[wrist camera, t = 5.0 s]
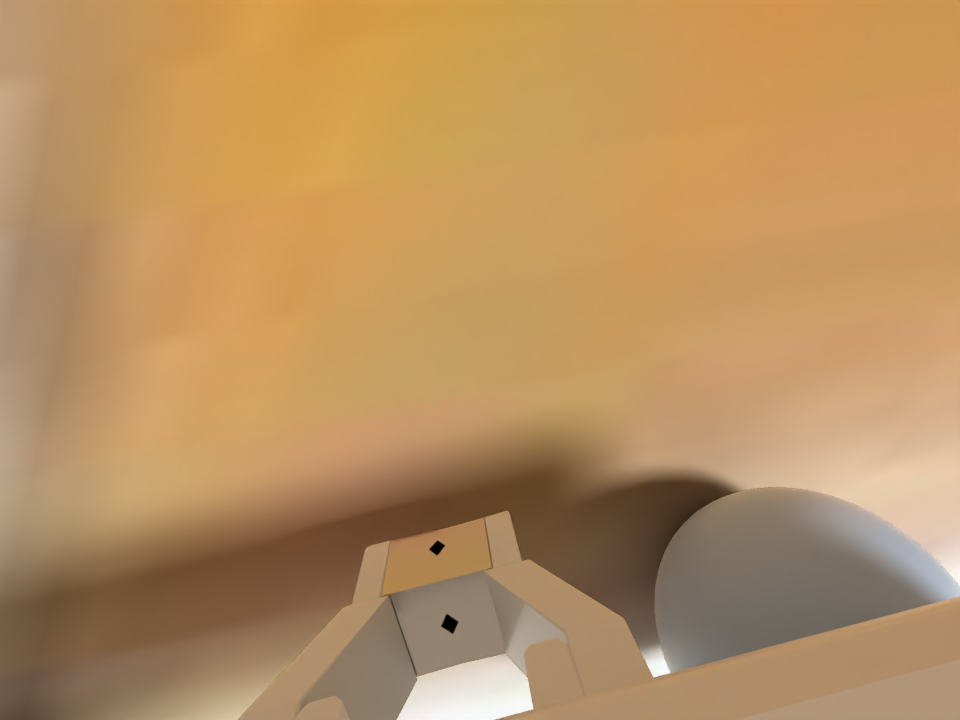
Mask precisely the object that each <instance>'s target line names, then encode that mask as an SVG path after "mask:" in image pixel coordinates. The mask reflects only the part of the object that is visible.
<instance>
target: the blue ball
mask: <svg viewBox="0 0 960 720" xmlns="http://www.w3.org/2000/svg"><path fill="white" fill-rule="evenodd" d="M958 596H960V586H959V585H958V583H957V582H956V581H955V580H954V579H953V577H952V576H951V575H950V574H949V573H948V572H947V571H946V569H945V568H944V567H943V566H942V565H941V564H940V563H939V562H938V561H937V560H936V559H935V558H934V557H933V556H932V555H931V554H930V553H929V552H928V551H927V550H925V549H924V548H923V547H922V546H921V545H920V544H919V543H918V542H916V541H915V540H914V539H912V538H911V537H910V536H908V535H907V534H906V533H904V532H903V531H902V530H900V529H899V528H897V527H896V526H894V525H892V524H891V523H889V522H888V521H886V520H884V519H883V518H881V517H879V516H878V515H876V514H874V513H872V512H870V511H868V510H865V509H863V508H861V507H859V506H857V505H855V504H853V503H850V502H847V501H845V500H842V499H839V498H836V497H833V496H830V495H827V494H822V493H818V492H814V491H809V490H804V489H795V488H784V487H768V488H757V489H749V490H744V491H740V492H736V493H733V494H730V495H727V496H724V497H721V498H719V499H717V500H714V501H713V502H711V503H709V504H708V505H706V506H704V507H703V508H701V509H700V510H698V511H697V512H695V513H694V514H693V515H692V516H691V517H690V518H689V519H688V520H687V521H685V522H684V523H683V524H682V526H681V527H680V528H679V530H678V531H677V532H676V533H675V535H674V536H673V537H672V539H671V541H670V543H669V544H668V546H667V548H666V550H665V552H664V555H663V558H662V560H661V563H660V566H659V570H658V575H657V580H656V585H655V598H654V605H655V621H656V626H657V632H658V638H659V641H660V645H661V648H662V651H663V655H664V658H665V660H666V663H667V665H668V668H669V670H670V673H673V672H677V671H681V670H685V669H688V668H692V667H696V666H700V665H704V664H707V663H711V662H715V661H718V660H722V659H726V658H729V657H733V656H737V655H740V654H744V653H748V652H751V651H755V650H759V649H762V648H766V647H770V646H774V645H778V644H781V643H785V642H789V641H793V640H796V639H800V638H804V637H808V636H811V635H815V634H819V633H823V632H827V631H830V630H834V629H838V628H842V627H845V626H849V625H853V624H857V623H860V622H864V621H868V620H872V619H875V618H879V617H883V616H887V615H891V614H894V613H898V612H902V611H906V610H909V609H913V608H917V607H921V606H924V605H928V604H932V603H936V602H939V601H943V600H947V599H951V598H955V597H958Z"/></svg>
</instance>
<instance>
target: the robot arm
mask: <svg viewBox="0 0 960 720" xmlns="http://www.w3.org/2000/svg"><path fill="white" fill-rule="evenodd" d="M505 653H507V656H508V657H509V658H510V659H511V660H512V661H513V662H514V663H515V664H516V666H517V667H518V668H519V669H520V670H521V671H522V672H523V673H524V674H525V676H526V677H527V678H528V681H529V686H530V692H531V697H532V702H533V708H534V709H533V710H529V711H525V712H522V713H518V714H514V715H510V716H506V717H503V718H499V719H495V720H960V596H958V597H955V598H951V599H947V600H943V601H939V602H936V603H932V604H928V605H924V606H921V607H917V608H913V609H909V610H906V611H902V612H898V613H894V614H891V615H887V616H883V617H879V618H875V619H872V620H868V621H864V622H860V623H857V624H853V625H849V626H845V627H842V628H838V629H834V630H830V631H827V632H823V633H819V634H815V635H811V636H808V637H804V638H800V639H796V640H793V641H789V642H785V643H781V644H778V645H774V646H770V647H766V648H762V649H759V650H755V651H751V652H748V653H744V654H740V655H737V656H733V657H729V658H726V659H722V660H718V661H715V662H711V663H707V664H704V665H700V666H696V667H692V668H688V669H685V670H681V671H677V672H673V673H669V674H666V675H662V676H658V677H654V678H653V676H652V674H651V672H650V670H649V668H648V666H647V664H646V662H645V660H644V658H643V656H642V654H641V652H640V650H639V647H638V645H637V643H636V641H635V639H634V637H633V635H632V633H631V631H630V629H629V627H628V625H627V623H626V621H625V619H624V618H623V617H621V616H619V615H618V614H616V613H615V612H613V611H611V610H610V609H608V608H607V607H605V606H603V605H602V604H600V603H599V602H597V601H595V600H594V599H592V598H591V597H589V596H587V595H586V594H584V593H583V592H581V591H579V590H578V589H576V588H575V587H573V586H571V585H570V584H568V583H566V582H565V581H563V580H562V579H560V578H558V577H557V576H555V575H554V574H552V573H550V572H549V571H547V570H546V569H544V568H542V567H541V566H539V565H538V564H536V563H534V562H533V561H531V560H529V559H528V560H524V561H522V559H521V555H520V551H519V547H518V543H517V540H516V536H515V532H514V528H513V524H512V520H511V516H510V513H509V511H508V510H506V511H503V512H500V513H496V514H493V515H489V516H486V517H485V518H480V519H476V520H473V521H469V522H466V523H462V524H458V525H455V526H451V527H448V528H444V529H440V530H439V529H437V530H433V531H429V532H424V533H420V534H416V535H411V536H407V537H403V538H398V539H394V540H392V541H390V540H389V541H385V542H382V543H378V544H374V545H370V546H368V547H367V548H366V549H365V551H364V555H363V559H362V563H361V567H360V571H359V576H358V580H357V584H356V588H355V592H354V596H353V600H352V604H351V605H349V606H345V607H343V608H342V609H341V610H340V611H339V613H338V614H337V615H336V616H335V617H334V618H333V619H332V620H331V621H330V622H329V623H328V624H327V625H326V626H325V627H324V628H323V630H322V631H321V632H320V633H319V634H318V635H317V636H316V637H315V638H314V639H313V640H312V641H311V642H310V643H309V644H308V645H307V647H306V648H305V649H304V650H303V651H302V652H301V653H300V654H299V655H298V656H297V657H296V658H295V659H294V660H293V661H292V662H291V664H290V665H289V666H288V667H287V668H286V669H285V670H284V671H283V672H282V673H281V674H280V675H279V676H278V677H277V678H276V679H275V681H274V682H273V683H272V684H271V685H270V686H269V687H268V688H267V689H266V690H265V691H264V692H263V693H262V694H261V695H260V697H259V698H258V699H257V700H256V701H255V702H254V703H253V704H252V705H251V706H250V707H249V708H248V709H247V710H246V711H245V712H244V714H243V715H242V716H241V717H240V718H239V720H396V719H397V718H398V716H399V714H400V712H401V710H402V708H403V706H404V704H405V702H406V700H407V698H408V696H409V695H410V693H411V691H412V689H413V687H414V685H415V683H416V681H417V676H421V675H424V674H427V673H431V672H434V671H438V670H441V669H444V668H448V667H451V666H455V665H458V664H461V663H466V662H470V661H475V660H479V659H483V658H488V657H492V656H496V655H501V654H505Z"/></svg>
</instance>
